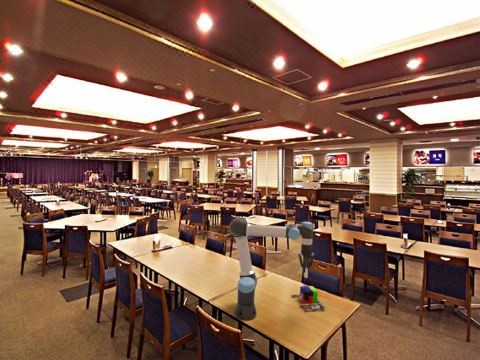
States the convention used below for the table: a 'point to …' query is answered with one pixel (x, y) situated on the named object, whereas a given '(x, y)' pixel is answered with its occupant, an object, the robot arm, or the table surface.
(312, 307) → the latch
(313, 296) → the puzzle toy
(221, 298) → the table surface
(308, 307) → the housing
